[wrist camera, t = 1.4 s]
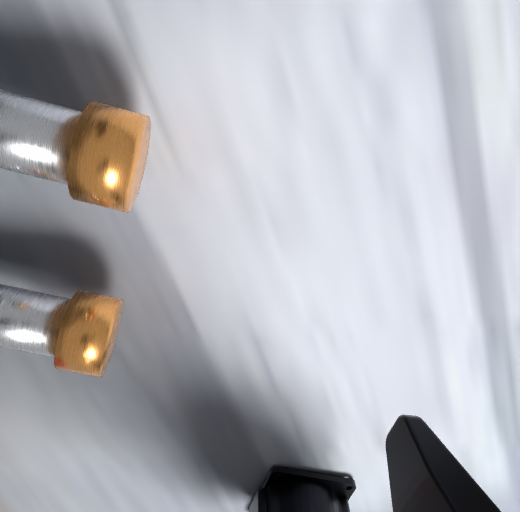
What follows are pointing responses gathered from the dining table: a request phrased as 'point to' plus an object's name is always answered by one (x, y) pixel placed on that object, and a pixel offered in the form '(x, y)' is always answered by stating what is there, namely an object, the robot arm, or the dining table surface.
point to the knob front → (76, 147)
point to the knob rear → (61, 327)
